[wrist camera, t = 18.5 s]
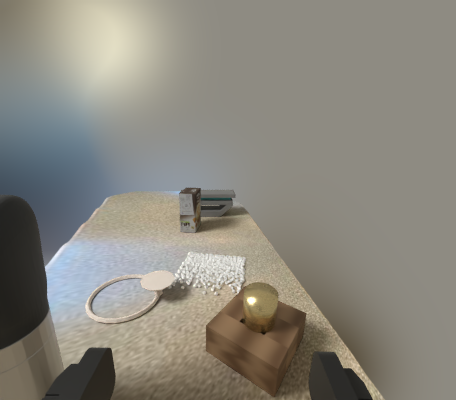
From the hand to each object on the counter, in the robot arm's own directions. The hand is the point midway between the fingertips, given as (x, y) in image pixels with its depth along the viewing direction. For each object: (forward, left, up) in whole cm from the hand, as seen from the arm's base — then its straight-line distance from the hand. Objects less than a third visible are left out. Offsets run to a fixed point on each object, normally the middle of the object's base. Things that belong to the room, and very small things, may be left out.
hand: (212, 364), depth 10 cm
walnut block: (-11, +28, -32) cm, 44 cm away
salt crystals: (-33, +42, -33) cm, 63 cm away
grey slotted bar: (-64, +78, -32) cm, 106 cm away
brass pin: (-11, +28, -31) cm, 44 cm away
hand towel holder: (-42, +22, -32) cm, 58 cm away
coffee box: (-59, +61, -32) cm, 91 cm away
